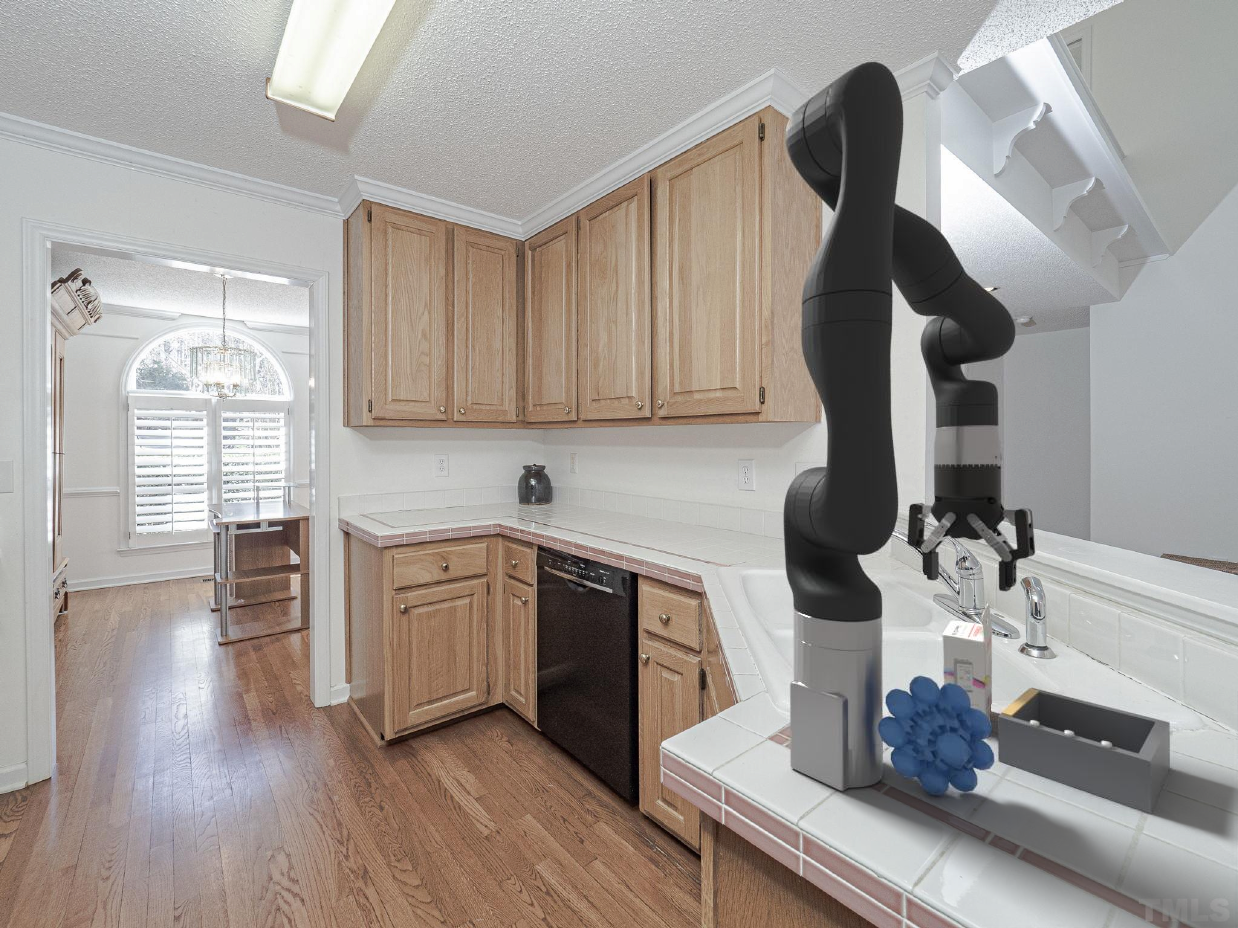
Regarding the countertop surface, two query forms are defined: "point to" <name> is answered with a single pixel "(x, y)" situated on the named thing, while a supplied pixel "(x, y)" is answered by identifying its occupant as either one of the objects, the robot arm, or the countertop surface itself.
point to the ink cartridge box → (970, 659)
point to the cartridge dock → (1087, 746)
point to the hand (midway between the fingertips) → (967, 584)
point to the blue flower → (936, 736)
